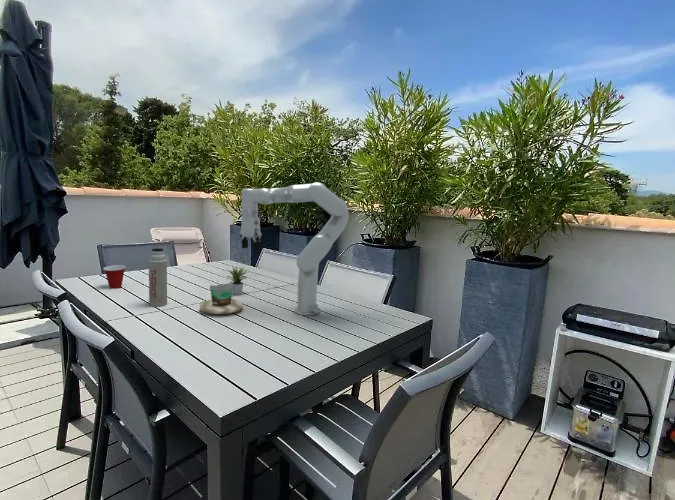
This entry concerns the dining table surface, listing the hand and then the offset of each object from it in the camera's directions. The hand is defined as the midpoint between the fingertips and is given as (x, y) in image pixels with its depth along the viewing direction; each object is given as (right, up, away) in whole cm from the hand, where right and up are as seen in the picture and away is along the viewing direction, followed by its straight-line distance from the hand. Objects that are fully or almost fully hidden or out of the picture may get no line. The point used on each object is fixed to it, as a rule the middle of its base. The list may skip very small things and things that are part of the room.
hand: (250, 249), depth 178 cm
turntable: (-14, -30, -2) cm, 33 cm away
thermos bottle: (-46, -28, +1) cm, 54 cm away
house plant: (-14, -26, +27) cm, 40 cm away
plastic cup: (-83, -22, +27) cm, 90 cm away
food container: (-12, -27, -3) cm, 30 cm away
